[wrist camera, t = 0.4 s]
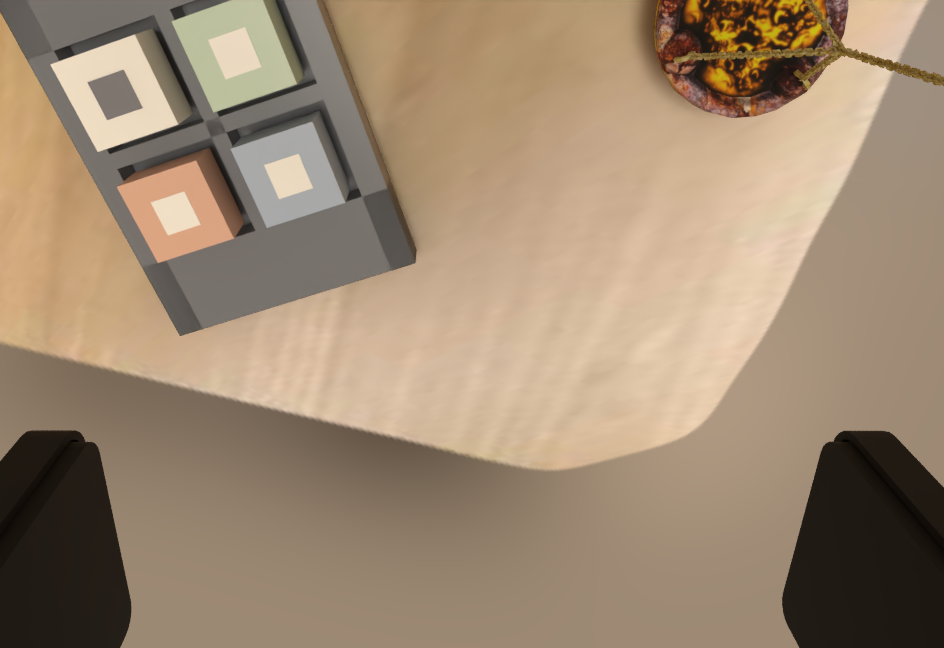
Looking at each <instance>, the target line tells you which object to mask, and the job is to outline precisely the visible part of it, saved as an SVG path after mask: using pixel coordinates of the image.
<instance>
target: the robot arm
mask: <svg viewBox="0 0 944 648" xmlns="http://www.w3.org/2000/svg"><path fill="white" fill-rule="evenodd" d="M782 606H783V613H784V616H785V620H786V622H787V625H788V627H789V629H790V630H791V632H792V634H793V636H794V638H795V640H796V642H797V644H798V646H799V648H944V487H943V486H942V485H941V484H940V483H938V481H937V480H936V479H935V478H934V477H933V476H932V475H931V474H930V473H929V472H928V471H927V470H926V469H925V467H924V466H923V465H922V464H921V463H920V462H919V461H918V460H917V459H916V458H915V457H914V456H913V455H912V454H911V453H910V452H909V451H908V449H906V447H905V446H904V445H903V444H902V443H901V442H900V441H899V440H898V439H897V438H896V437H895V436H894V435H893V434H891V433H890V432H886V431H843V432H840V433H839V434H838V435H837V436H836V437H835V440H834V442H828V443H826V444H825V445H824V446H823V448H822V451H821V454H820V458H819V461H818V465H817V469H816V473H815V476H814V480H813V484H812V487H811V491H810V495H809V498H808V502H807V506H806V510H805V513H804V517H803V521H802V525H801V528H800V532H799V536H798V539H797V543H796V547H795V551H794V555H793V558H792V562H791V565H790V569H789V573H788V577H787V581H786V584H785V588H784V592H783V597H782ZM130 618H131V599H130V595H129V590H128V586H127V580H126V576H125V571H124V567H123V562H122V557H121V552H120V547H119V542H118V538H117V533H116V528H115V524H114V519H113V514H112V509H111V504H110V500H109V495H108V490H107V485H106V481H105V476H104V471H103V466H102V462H101V457H100V452H99V449H98V447H97V445H96V444H95V443H93V442H85V440H84V437H83V436H82V434H81V433H80V432H78V431H28V432H26V433H25V434H23V435H22V436H21V437H20V438H19V440H18V441H17V442H16V443H15V444H14V446H13V447H12V448H11V449H10V450H9V452H8V453H7V454H6V455H5V456H4V457H3V459H2V460H1V461H0V648H120V647H121V645H122V642H123V640H124V638H125V636H126V633H127V631H128V627H129V623H130Z"/></svg>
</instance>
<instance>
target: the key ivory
mask: <svg viewBox="0 0 944 648" xmlns="http://www.w3.org/2000/svg"><path fill="white" fill-rule="evenodd" d="M50 65H51V67H52V69H53V71H54V72H55V74H56V76H57V78H58V80H59V82H60V83H61V85H62V87H63V89H64V91H65V93H66V95H67V96H68V98H69V100H70V102H71V104H72V106H73V107H74V109H75V111H76V113H77V115H78V117H79V118H80V120H81V122H82V124H83V126H84V128H85V130H86V131H87V133H88V135H89V137H90V139H91V141H92V142H93V144H94V146H95V148H96V150H97V152H99V151H102V150H105V149H108V148H111V147H114V146H117V145H120V144H123V143H126V142H129V141H132V140H135V139H138V138H140V137H143V136H146V135H149V134H152V133H155V132H158V131H161V130H164V129H167V128H170V127H173V126H176V125H179V124H180V123H181V122H182V121H184V120H185V119H186V118H188V117H189V116H190V115H192V114H193V112H192V110H191V108H190V105H189V103H188V101H187V99H186V97H185V95H184V93H183V91H182V89H181V86H180V84H179V82H178V80H177V78H176V76H175V74H174V72H173V70H172V68H171V65H170V63H169V61H168V59H167V57H166V55H165V53H164V51H163V49H162V46H161V44H160V42H159V40H158V38H157V36H156V34H155V32H154V30H153V28H152V29H149V30H146V31H143V32H140V33H137V34H135V35H132V36H129V37H126V38H123V39H121V40H118V41H115V42H112V43H109V44H106V45H104V46H101V47H98V48H95V49H92V50H90V51H87V52H84V53H81V54H78V55H76V56H73V57H70V58H67V59H64V60H61V61H59V62H56V63H53V64H50Z"/></svg>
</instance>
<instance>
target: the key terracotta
mask: <svg viewBox="0 0 944 648" xmlns="http://www.w3.org/2000/svg"><path fill="white" fill-rule="evenodd" d="M117 189H118V190H119V192H120V194H121V196H122V198H123V200H124V201H125V203H126V205H127V207H128V209H129V211H130V212H131V214H132V216H133V218H134V220H135V222H136V224H137V225H138V227H139V229H140V231H141V233H142V235H143V236H144V238H145V240H146V242H147V244H148V246H149V247H150V249H151V251H152V253H153V255H154V257H155V259H156V260H157V262H158V263H160V262H163V261H166V260H169V259H172V258H175V257H178V256H181V255H184V254H188V253H191V252H194V251H197V250H200V249H203V248H206V247H209V246H212V245H216V244H219V243H222V242H225V241H228V240H231V239H234V238H235V236H236V235H237V233H238V232H239V230H240V229H241V227H242V226H243V224H244V222H245V221H244V219H243V217H242V215H241V213H240V211H239V209H238V207H237V204H236V202H235V200H234V198H233V196H232V194H231V192H230V190H229V188H228V186H227V183H226V181H225V179H224V177H223V175H222V173H221V171H220V169H219V167H218V164H217V162H216V160H215V158H214V156H213V154H212V152H211V150H210V148H206V149H203V150H200V151H197V152H194V153H191V154H188V155H186V156H183V157H180V158H177V159H174V160H171V161H168V162H165V163H162V164H159V165H156V166H153V167H150V168H147V169H144V170H141V171H138V172H135V173H133V174H132V175H131V176H130V177H128V178H127V179H126V180H125V181H123V182H122V183H121V184H120V185H118V186H117Z"/></svg>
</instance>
